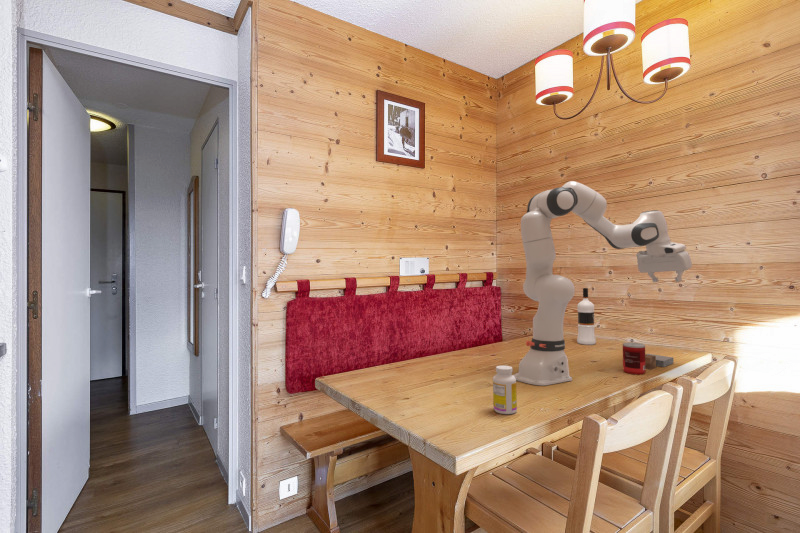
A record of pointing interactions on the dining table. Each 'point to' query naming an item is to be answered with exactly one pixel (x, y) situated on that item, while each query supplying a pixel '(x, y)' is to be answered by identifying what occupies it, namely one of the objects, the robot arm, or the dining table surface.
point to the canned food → (634, 358)
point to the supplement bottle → (504, 391)
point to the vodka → (586, 321)
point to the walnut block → (650, 362)
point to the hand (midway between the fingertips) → (667, 281)
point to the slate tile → (663, 360)
